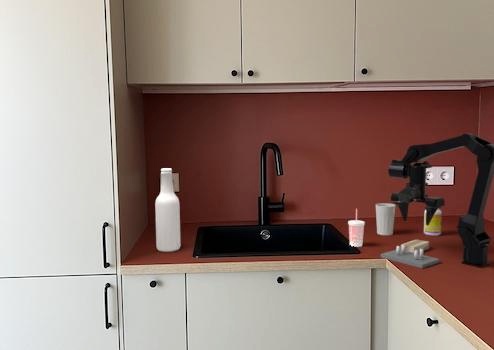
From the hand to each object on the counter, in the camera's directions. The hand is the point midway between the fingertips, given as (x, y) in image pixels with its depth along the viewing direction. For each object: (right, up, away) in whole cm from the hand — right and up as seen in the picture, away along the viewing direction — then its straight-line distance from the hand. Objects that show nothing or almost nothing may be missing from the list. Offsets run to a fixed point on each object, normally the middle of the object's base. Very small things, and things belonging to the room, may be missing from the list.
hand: (416, 223), depth 176 cm
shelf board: (0, -10, +1) cm, 11 cm away
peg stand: (-6, -11, -11) cm, 17 cm away
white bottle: (-90, -10, +6) cm, 91 cm away
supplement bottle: (+15, -7, +25) cm, 31 cm away
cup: (-4, -7, +27) cm, 28 cm away
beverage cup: (-20, -10, +9) cm, 24 cm away
